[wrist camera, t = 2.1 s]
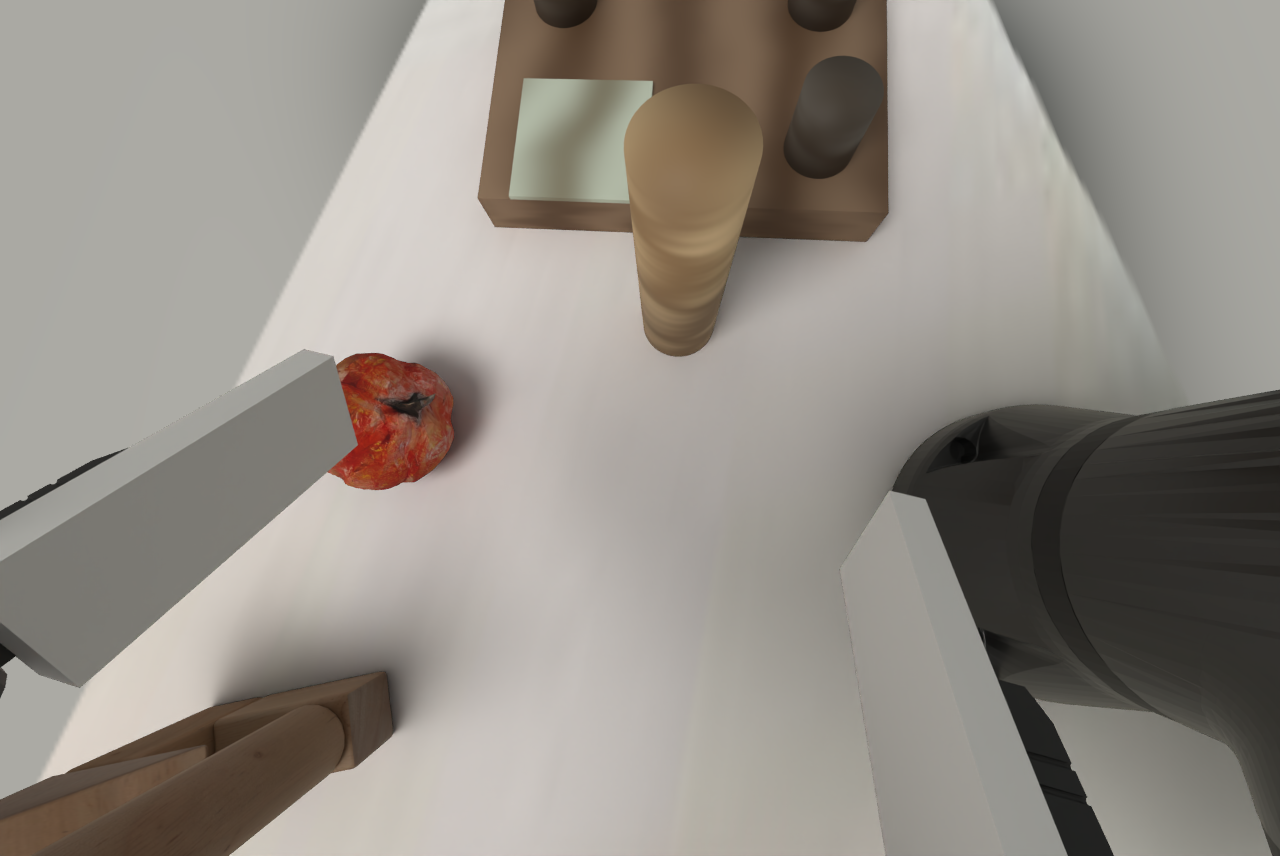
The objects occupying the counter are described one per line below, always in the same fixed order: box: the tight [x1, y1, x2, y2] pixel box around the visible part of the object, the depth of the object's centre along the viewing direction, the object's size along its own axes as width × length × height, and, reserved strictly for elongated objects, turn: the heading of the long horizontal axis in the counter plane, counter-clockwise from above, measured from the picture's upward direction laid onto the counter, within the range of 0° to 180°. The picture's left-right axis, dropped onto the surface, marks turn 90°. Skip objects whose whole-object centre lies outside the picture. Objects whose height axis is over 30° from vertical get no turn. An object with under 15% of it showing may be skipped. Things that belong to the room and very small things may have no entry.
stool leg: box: [624, 84, 763, 356], centre depth 22 cm, size 4×4×15 cm
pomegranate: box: [328, 353, 454, 490], centre depth 26 cm, size 7×7×10 cm
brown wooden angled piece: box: [0, 672, 393, 856], centre depth 18 cm, size 4×11×18 cm, turn 102°
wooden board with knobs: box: [478, 0, 888, 242], centre depth 29 cm, size 24×18×7 cm
